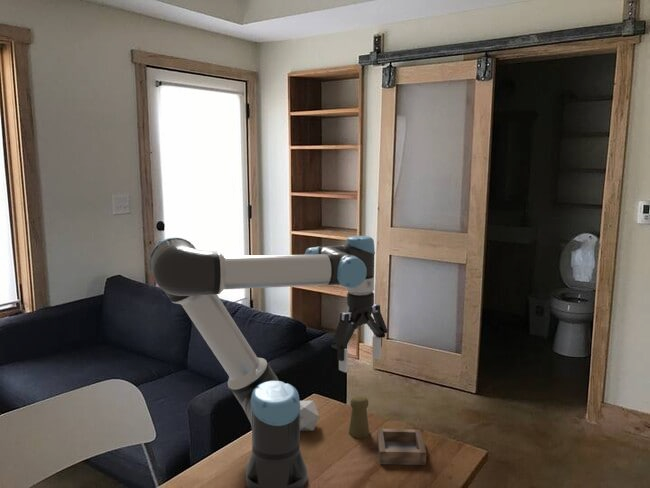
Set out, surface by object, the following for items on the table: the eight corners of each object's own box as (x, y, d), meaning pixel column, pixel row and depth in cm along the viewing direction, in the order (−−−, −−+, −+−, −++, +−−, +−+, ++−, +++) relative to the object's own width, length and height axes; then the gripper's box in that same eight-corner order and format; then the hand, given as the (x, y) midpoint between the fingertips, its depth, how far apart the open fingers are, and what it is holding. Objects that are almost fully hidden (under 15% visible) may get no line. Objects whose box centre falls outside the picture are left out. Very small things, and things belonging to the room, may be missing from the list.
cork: (368, 439, 153) (368, 402, 151) (347, 436, 154) (347, 400, 152) (370, 428, 159) (371, 393, 157) (350, 426, 160) (350, 391, 158)
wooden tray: (379, 464, 140) (379, 451, 140) (377, 440, 152) (377, 428, 152) (425, 465, 140) (426, 452, 139) (419, 441, 152) (420, 429, 151)
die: (284, 427, 161) (283, 411, 154) (302, 404, 166) (301, 388, 159) (307, 443, 158) (307, 428, 150) (324, 419, 163) (325, 403, 156)
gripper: (337, 302, 138) (337, 380, 142) (400, 286, 155) (399, 356, 158) (317, 297, 144) (318, 372, 147) (380, 282, 160) (380, 350, 164)
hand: (360, 364), depth 153 cm, fingers open, 13 cm apart
